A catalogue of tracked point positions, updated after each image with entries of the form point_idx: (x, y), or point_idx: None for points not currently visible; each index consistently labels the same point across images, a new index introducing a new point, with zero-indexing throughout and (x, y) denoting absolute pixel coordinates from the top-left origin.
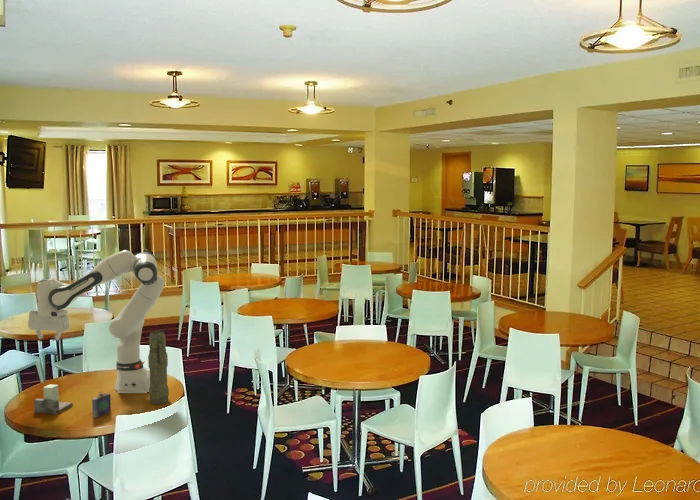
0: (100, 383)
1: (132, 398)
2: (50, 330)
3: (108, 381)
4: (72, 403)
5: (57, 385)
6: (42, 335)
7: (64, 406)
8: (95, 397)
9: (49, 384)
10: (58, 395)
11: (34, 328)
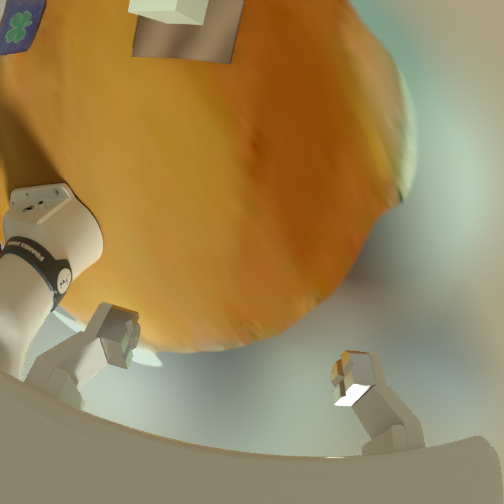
0: (163, 263)
1: (21, 151)
2: (143, 433)
3: (151, 277)
4: (133, 56)
5: (129, 7)
6: (337, 392)
7: (142, 20)
8: (2, 12)
9: (175, 6)
10: (150, 17)
11: (440, 459)
